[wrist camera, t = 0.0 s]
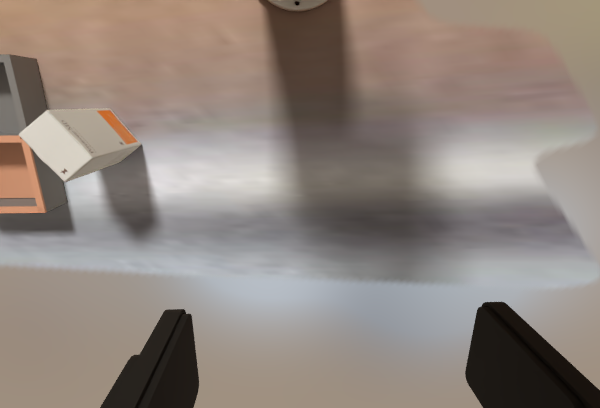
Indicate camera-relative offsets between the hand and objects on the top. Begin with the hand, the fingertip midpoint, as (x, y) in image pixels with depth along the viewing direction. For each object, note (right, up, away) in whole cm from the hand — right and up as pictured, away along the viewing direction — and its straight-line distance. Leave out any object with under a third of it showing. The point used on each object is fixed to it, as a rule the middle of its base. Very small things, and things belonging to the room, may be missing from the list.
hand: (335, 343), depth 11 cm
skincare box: (-26, +14, +33) cm, 44 cm away
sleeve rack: (-39, +13, +33) cm, 52 cm away
